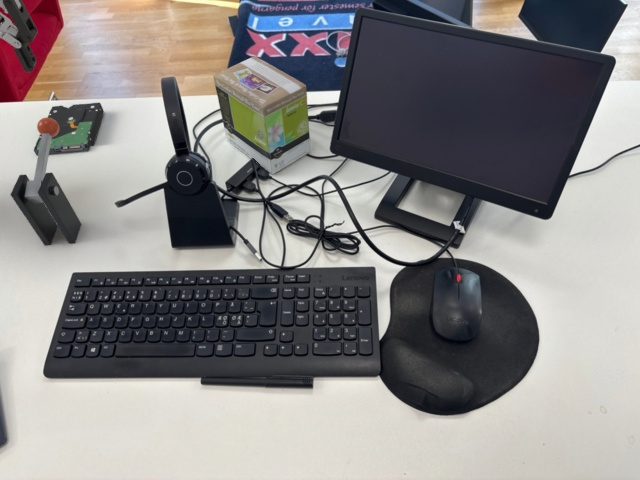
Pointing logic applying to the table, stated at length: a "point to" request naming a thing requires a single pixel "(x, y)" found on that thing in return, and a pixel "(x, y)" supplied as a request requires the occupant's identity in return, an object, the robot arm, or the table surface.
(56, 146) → the disk drive
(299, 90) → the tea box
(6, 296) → the table surface
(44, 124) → the lever
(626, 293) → the table surface
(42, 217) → the bracket
